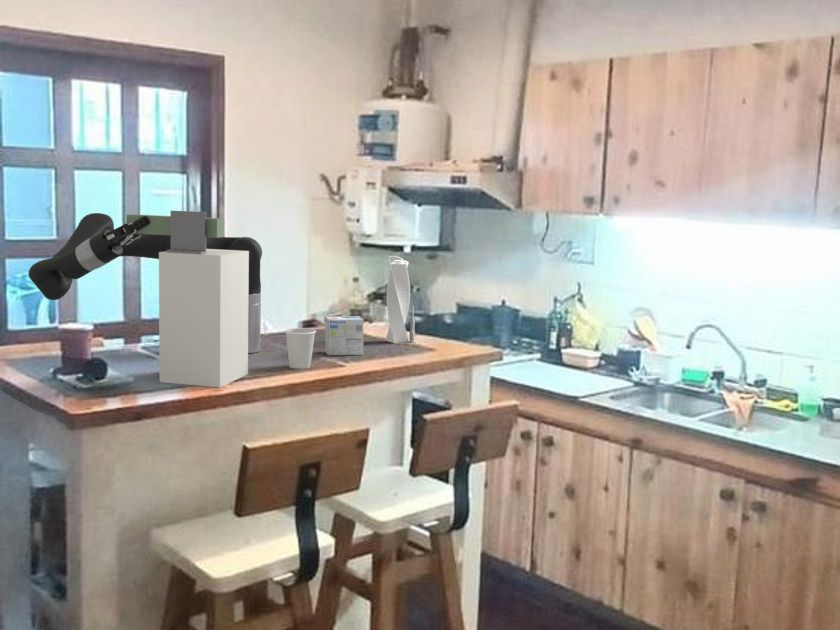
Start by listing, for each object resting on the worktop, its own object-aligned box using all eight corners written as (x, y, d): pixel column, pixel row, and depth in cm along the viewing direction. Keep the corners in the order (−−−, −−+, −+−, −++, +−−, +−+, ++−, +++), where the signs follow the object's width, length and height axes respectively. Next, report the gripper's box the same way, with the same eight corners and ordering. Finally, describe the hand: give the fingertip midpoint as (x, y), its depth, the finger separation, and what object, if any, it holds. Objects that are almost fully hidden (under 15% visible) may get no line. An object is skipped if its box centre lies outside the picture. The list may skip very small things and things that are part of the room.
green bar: (134, 232, 238) (134, 214, 237) (224, 236, 233) (224, 218, 232) (126, 233, 234) (126, 214, 234) (217, 237, 229) (217, 219, 228)
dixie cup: (285, 369, 253) (285, 332, 252) (283, 363, 261) (284, 327, 260) (316, 369, 255) (317, 332, 254) (313, 363, 263) (314, 328, 262)
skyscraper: (394, 345, 298) (396, 256, 294) (379, 341, 304) (382, 254, 300) (415, 343, 303) (418, 256, 299) (401, 340, 309) (403, 254, 305)
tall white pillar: (190, 369, 249) (190, 248, 245) (247, 374, 246) (248, 250, 242) (159, 382, 233) (158, 252, 229) (220, 387, 230) (220, 255, 225)
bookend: (172, 251, 231) (172, 210, 230) (206, 253, 229) (206, 212, 228) (166, 252, 228) (166, 210, 227) (201, 254, 226) (201, 212, 225)
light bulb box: (359, 351, 285) (360, 315, 283) (363, 355, 278) (364, 318, 277) (323, 351, 282) (324, 315, 281) (327, 355, 276) (328, 319, 274)
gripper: (76, 238, 232) (131, 205, 227) (107, 235, 246) (159, 204, 241) (90, 266, 232) (145, 233, 228) (120, 261, 246) (173, 231, 241)
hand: (152, 219), depth 234 cm, fingers closed on green bar, 4 cm apart
